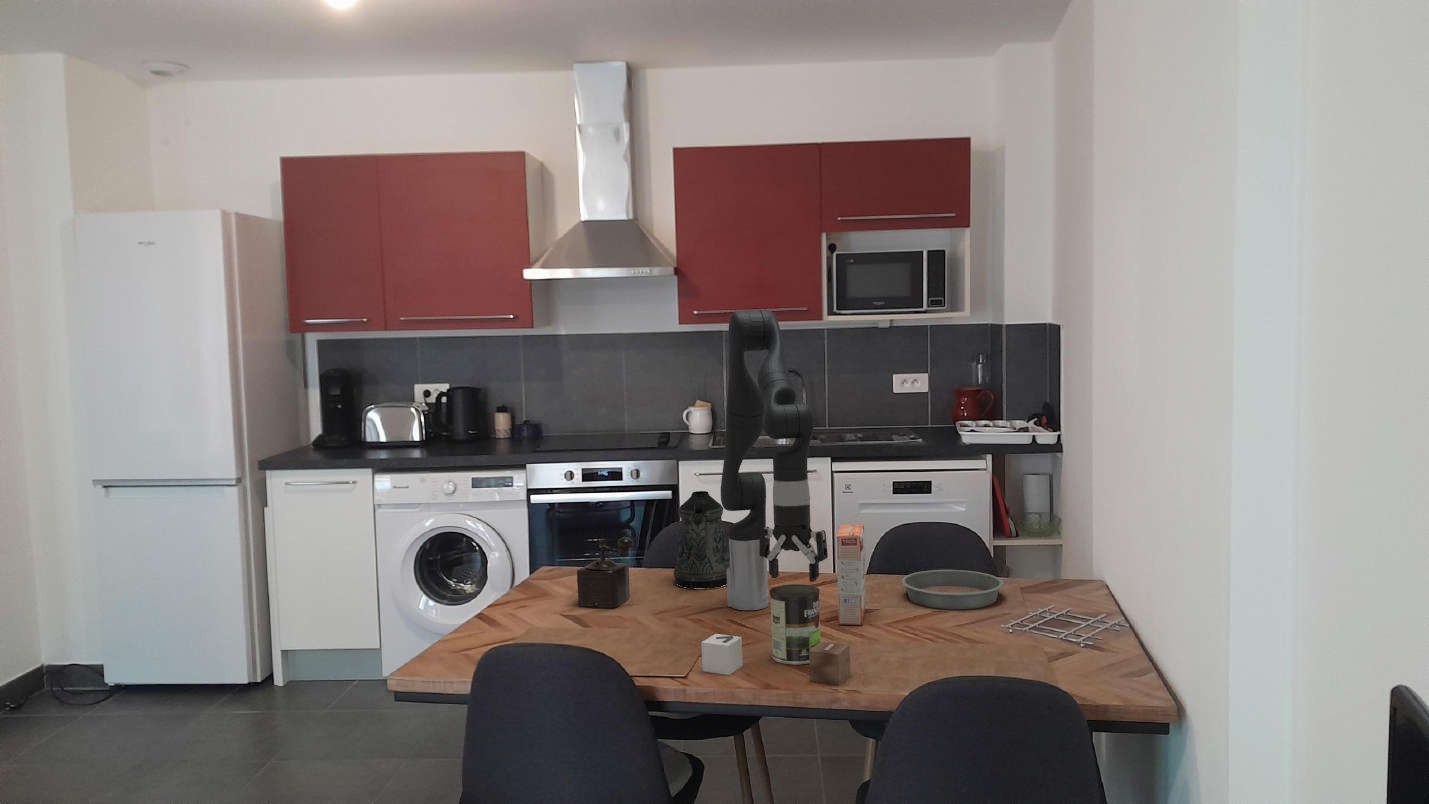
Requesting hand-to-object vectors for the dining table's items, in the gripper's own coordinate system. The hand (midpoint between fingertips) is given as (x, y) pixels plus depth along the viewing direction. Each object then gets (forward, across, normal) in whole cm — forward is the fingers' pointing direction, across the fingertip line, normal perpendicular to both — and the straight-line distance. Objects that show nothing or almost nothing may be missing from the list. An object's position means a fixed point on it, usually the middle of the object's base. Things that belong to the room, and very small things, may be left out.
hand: (794, 579), depth 201 cm
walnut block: (+16, +11, -9) cm, 22 cm away
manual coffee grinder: (+16, -60, +21) cm, 66 cm away
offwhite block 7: (+16, -11, -12) cm, 23 cm away
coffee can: (+17, 0, 0) cm, 17 cm away
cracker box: (+16, +1, +31) cm, 35 cm away
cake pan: (+17, +18, +56) cm, 61 cm away
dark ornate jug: (+16, -47, +47) cm, 69 cm away
